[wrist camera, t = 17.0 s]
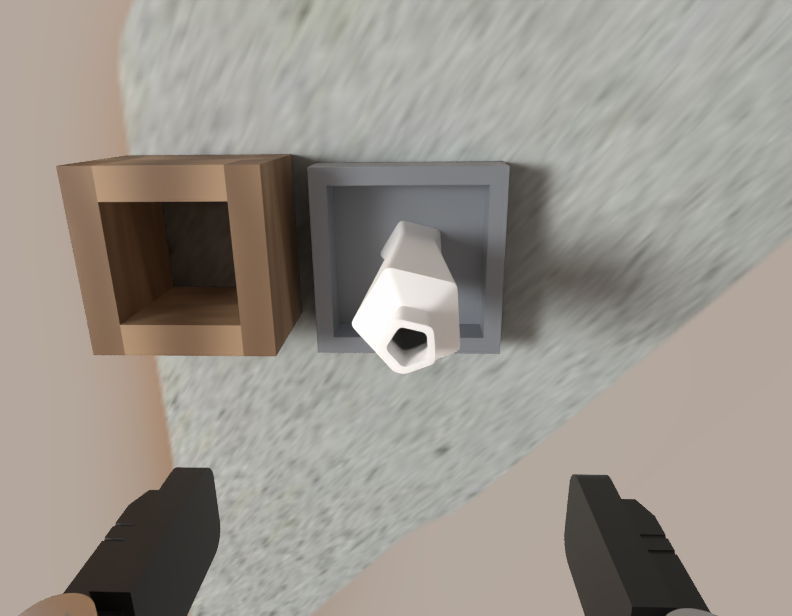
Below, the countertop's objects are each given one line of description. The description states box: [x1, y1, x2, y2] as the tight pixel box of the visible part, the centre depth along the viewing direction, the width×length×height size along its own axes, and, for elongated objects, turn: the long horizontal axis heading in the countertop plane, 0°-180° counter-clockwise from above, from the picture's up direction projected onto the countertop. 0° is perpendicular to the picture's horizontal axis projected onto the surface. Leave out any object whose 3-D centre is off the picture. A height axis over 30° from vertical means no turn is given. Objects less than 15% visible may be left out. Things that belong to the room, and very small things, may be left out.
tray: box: [307, 161, 510, 354], centre depth 34 cm, size 11×11×3 cm
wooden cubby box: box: [56, 154, 302, 356], centre depth 32 cm, size 10×10×7 cm
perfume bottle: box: [352, 221, 460, 374], centre depth 28 cm, size 5×4×15 cm
